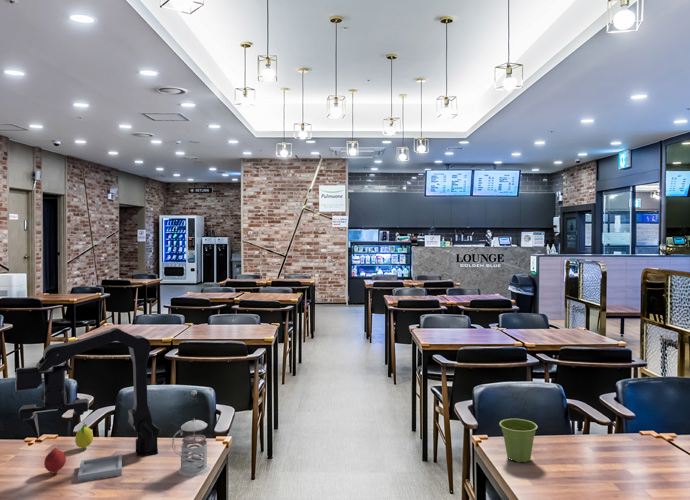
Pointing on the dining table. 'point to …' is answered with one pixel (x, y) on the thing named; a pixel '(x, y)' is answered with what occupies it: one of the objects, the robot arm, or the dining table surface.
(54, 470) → the onion
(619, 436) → the dining table surface
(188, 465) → the french press
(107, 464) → the dish
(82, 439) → the lemon
